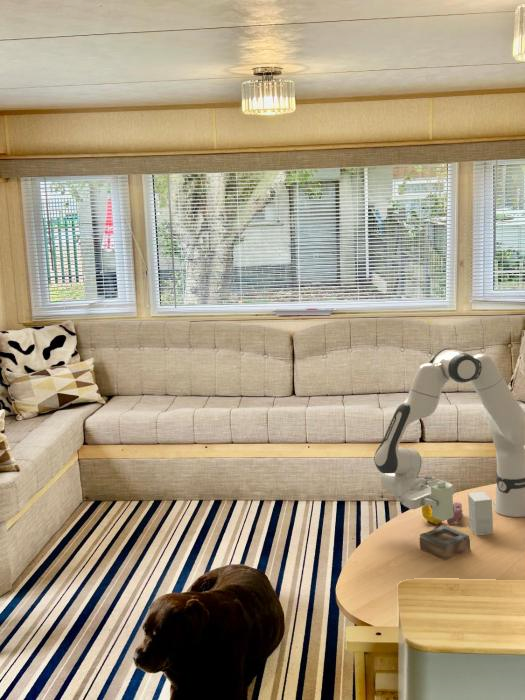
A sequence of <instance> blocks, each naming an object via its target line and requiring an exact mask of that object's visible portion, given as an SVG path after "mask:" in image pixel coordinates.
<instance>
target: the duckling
mask: <svg viewBox="0 0 525 700" xmlns="http://www.w3.org/2000/svg"><path fill="white" fill-rule="evenodd" d="M421 513H422V514H421V515H422V517H423V518H424V520H426V521H428V522H429V523H432V524H435V525H438V524H440V523H442V522H443V521H441V520H439V519H436V518H434V517H433V515H432V506H431V505H425V506H422V507H421Z"/></svg>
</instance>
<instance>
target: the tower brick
mask: <svg viewBox="0 0 525 700" xmlns="http://www.w3.org/2000/svg"><path fill="white" fill-rule="evenodd" d="M443 481H444V480H443ZM443 481H440V482H437V485H434V486H432V487H431V499H432V500H434V499H435V500H438V502H439V503H438V504H439V505H438V506H432V515H433V517H434V518H436V519H439V520H441V521H442V522H444V521H447V519H450V518H452V517H454V514H453V504H454V501H453V500H454V499H453V497H454V495H452V487H451V486H449V485H446V484H445V482H443Z"/></svg>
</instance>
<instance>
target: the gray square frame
mask: <svg viewBox="0 0 525 700" xmlns="http://www.w3.org/2000/svg"><path fill="white" fill-rule="evenodd" d="M418 539H419V549H420V550H422V551H424V552H426V553H427V554H431V555H433V556H434V557H436V558H439V559H441V558H442V559H441V560H443V559H444V561H447V560H449V559H452V558H454V557H457V556H458V555H461V554H463V553H465V552H467V550H468V551H469V550H471V539H470V535H469V534H467V533H464V532H462V531H459V530H457V529H455V528H452V527H450V526H447V525H445V524H441V525H440V526H439V527H437V528H434V529H432V530H428V531H427V532H423V533H421V534H419V538H418ZM462 552H463V553H462Z"/></svg>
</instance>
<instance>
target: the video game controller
mask: <svg viewBox="0 0 525 700" xmlns="http://www.w3.org/2000/svg"><path fill="white" fill-rule="evenodd" d="M462 509H463V507H462V503H461V502H456V501H455V502H453V514H454V517H452V518H450V519H447V520H446V522H447V523H448V524H453V523H456V522H457V521H458V520H460V518H461V517H463V516H464V513H463V510H462Z"/></svg>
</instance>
